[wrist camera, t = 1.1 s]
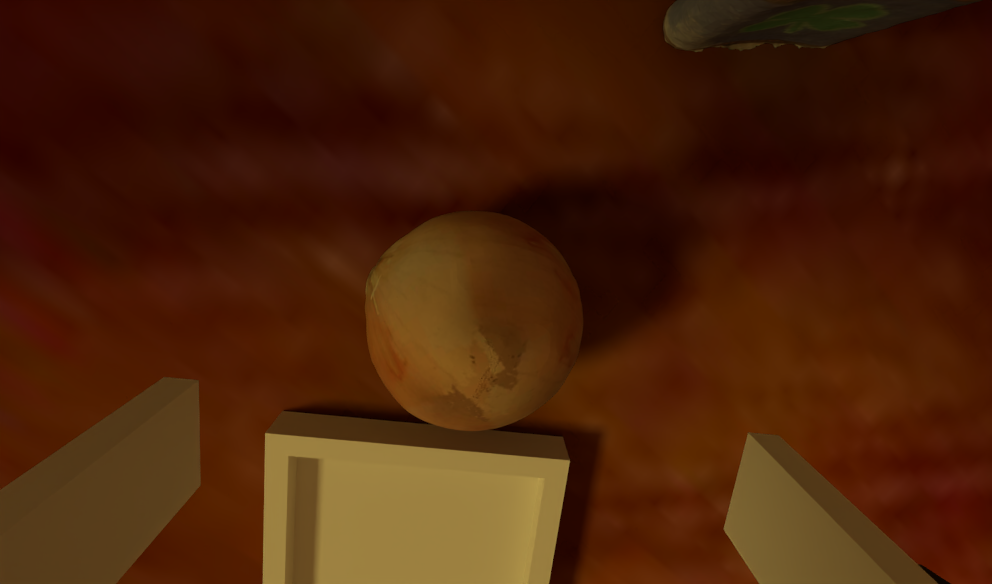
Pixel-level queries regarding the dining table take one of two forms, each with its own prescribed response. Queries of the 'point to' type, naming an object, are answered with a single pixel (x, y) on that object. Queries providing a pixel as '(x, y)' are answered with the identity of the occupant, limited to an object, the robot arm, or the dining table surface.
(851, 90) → the dining table surface
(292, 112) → the dining table surface
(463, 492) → the dish
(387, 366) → the onion
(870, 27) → the flask
